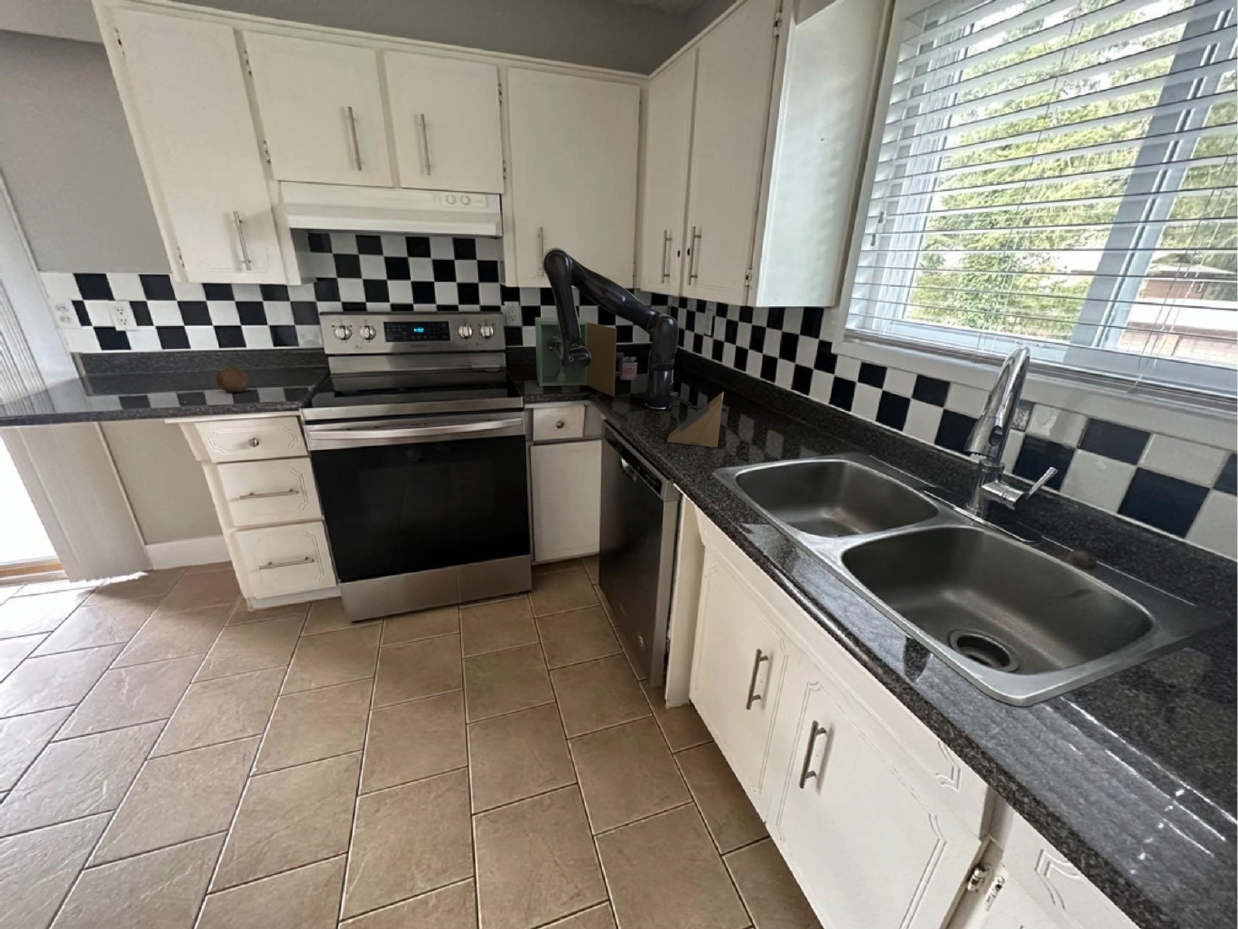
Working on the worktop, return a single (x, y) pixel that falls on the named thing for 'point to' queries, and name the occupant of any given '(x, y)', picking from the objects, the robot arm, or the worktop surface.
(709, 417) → the sandwich container
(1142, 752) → the worktop surface
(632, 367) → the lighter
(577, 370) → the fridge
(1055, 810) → the worktop surface
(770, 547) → the worktop surface
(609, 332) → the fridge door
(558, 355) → the chalice
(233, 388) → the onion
